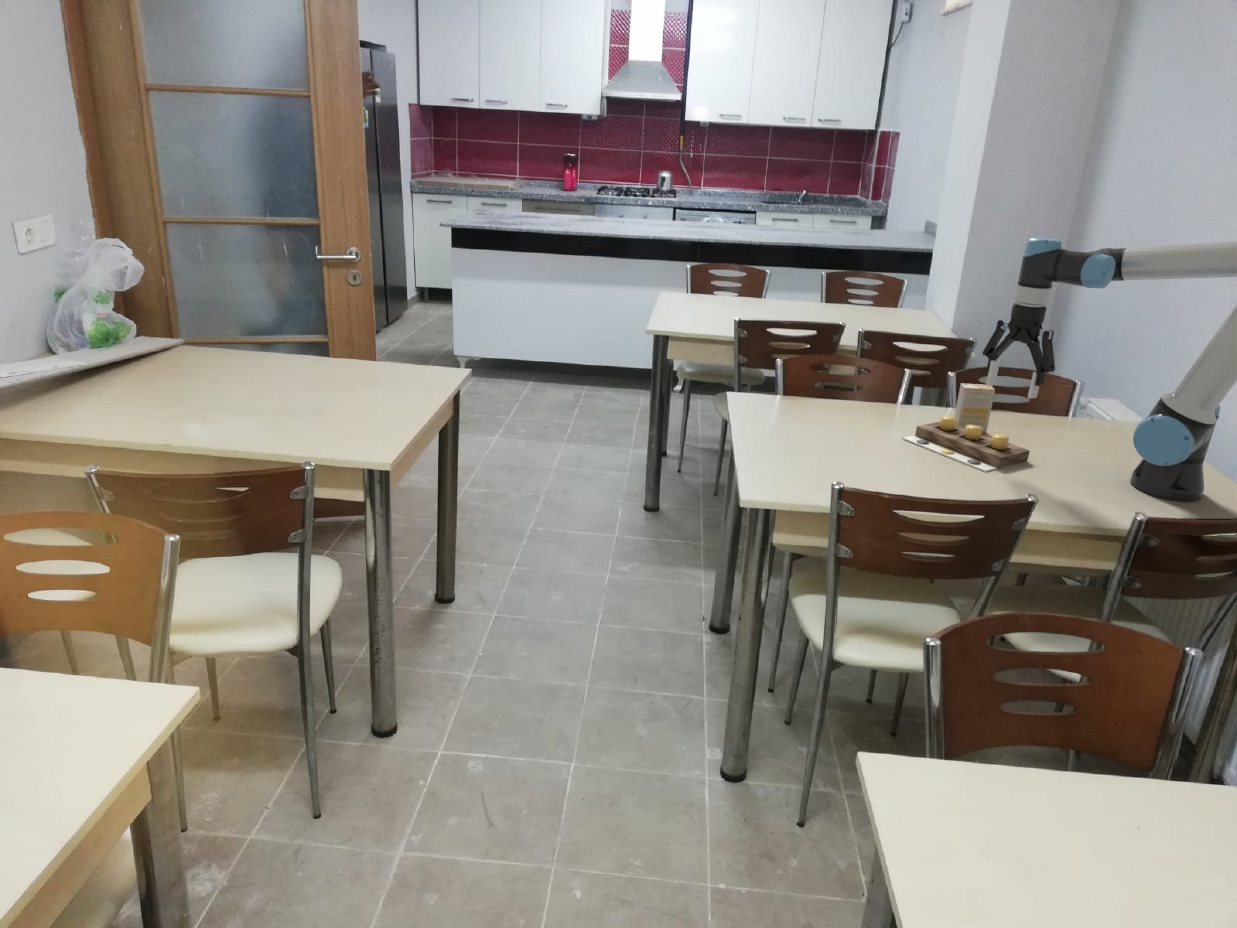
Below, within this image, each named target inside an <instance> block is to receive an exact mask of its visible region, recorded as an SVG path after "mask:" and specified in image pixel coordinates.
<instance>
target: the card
mask: <svg viewBox="0 0 1237 928" xmlns="http://www.w3.org/2000/svg"><path fill="white" fill-rule="evenodd" d="M901 440H903V441H906V442H908V443H910V444H914V445H916V446H919V447H921V448H924V449H926V450H929V451H931V452H934V453H936V454H938V455H941V456H944V457H946V458H949V459H951V460H954V461H956V462H958V463H961V464H963V465H966V466H968V467H972V468H974V469H976V470H979V471H981V472H984V473H987V472H990V471H995V470H997V468H996V467H993V466H991V465H988V464H986V463H983V462H980V461H978V460H975V459H973V458H970V457H967V456H965V455H962V454H960V453H957V452H955V451H952V450H949V449H947V448H944V447H942V446H939V445H936V444H934V443H931V442H929V441H926V440H924V439H921V438H918V437H916V436H915V435H909V436H905V437H902V439H901Z"/></svg>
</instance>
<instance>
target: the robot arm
mask: <svg viewBox="0 0 1237 928" xmlns="http://www.w3.org/2000/svg"><path fill="white" fill-rule="evenodd" d="M1062 243H1063V242H1062V240H1060V239H1057V238H1051V237H1039V236H1038V237H1035V236H1034V237H1031V238H1029V239H1028V240H1027V242H1026V245H1025V248H1024V252H1023V255H1022V261H1021V266H1020V270H1019V277H1018V281H1017V285H1016V289H1015V294H1014V298H1013V300H1014V301H1015V302H1013V304H1012V308H1011V313H1010V320H1008V319H1001V320H1000V319H999V320H997V323H996V328H995V330H994V331H993V333H992V335H991V337H990V338H989V340H988V342H987V343H986V346H985V347H984V349H983V350H982V356H985V357H987V360H988V361H987V365H986V372H988V373H987V378H986V383H985V385H987V386H992V387H993V386H996V382H997V377H998V373H999V368H1000V363H1001V359H999V358H1000V356H1002V354H1003V353H1004V352H1005V351H1006V350H1007V349H1008V348H1009V347H1010V346H1011V345H1012V344H1013V343H1014V342H1020V343H1022V344H1026V347H1028V349H1029V352H1030V355H1031V358H1032V361H1033V363H1034V367H1035V369H1036V371H1034V372H1032V376H1031V381H1030V385H1029V389H1028V393H1027V399H1029V400H1030V399H1037V398H1038V393H1039V390H1040V387H1041V386H1043V384H1044V382H1045V377H1046V374H1047V373H1051V372H1055V370H1056V366H1055V365H1056V364H1055V354H1054V346H1053V339H1054V334H1055V332H1054V330H1052V329H1051V330H1048V329H1047V330H1046V329H1043V323H1044V321H1045V318H1046V313H1047V309H1048V308H1047V307H1046V305H1048V303H1049V299H1050V296H1051V295H1050V294H1051V290H1052V287H1053V283H1057V284H1058V283H1061V284H1066V285H1073V286H1078V287H1083V288H1087V289H1100V290H1101V289H1105V288H1107V287H1108V286H1109V284H1110V283H1112V282H1122V281H1144V280H1146V281H1147V280H1149V281H1150V280H1177V279H1178V280H1180V279H1181V280H1183V279H1187V280H1188V279H1210V278H1211V279H1213V278H1214V279H1215V278H1217V279H1218V278H1237V241H1227V242H1226V241H1225V242H1224V241H1223V242H1205V243H1190V244H1174V245H1156V246H1153V245H1152V246H1140V247H1139V246H1138V247H1127V248H1126V247H1123V248H1122V247H1121V248H1113V247H1107V248H1101V249H1098V250H1097V249H1096V250H1091V251H1076V250H1068V249H1064V248H1062ZM1006 330H1008V331H1009V333H1008V334H1006V336H1005V337H1004V338H1003V340H1002V341H1001V339H1002V337H1003V335H1004V334H1005V332H1006ZM1039 336H1040V338H1041V342H1040V340H1039ZM1210 339H1211V340H1209V342H1208V343H1207V344H1206V346H1205V347H1204V349H1203V350H1202V352H1201V353H1200V354H1199V357H1198V358H1197V359H1196V361H1195V362H1194V363H1193V365H1192V366H1191V367H1190V369H1189V371H1187V373H1186V374H1185V376H1184V377H1183V379H1182V380H1181V381H1180V383H1179V384H1178V386H1177V387H1176V388H1175V390H1174V391H1171V392H1168V393H1163V394H1162V395H1161V397H1160V398H1159V399H1158V401H1157V402H1156V404H1155V405H1154V406H1153V408H1152V409H1151V411H1150V412H1149V414H1148V415H1147V416H1146V418H1144V419H1142V420H1141V421H1140V422H1138V424H1137V426H1136V427H1135V429H1134V431H1133V436H1132V442H1133V447H1134V448H1135V451H1136V452H1137V454H1138V456H1140V457H1141V458H1142V459H1141V460H1140V462H1139V463H1138V465H1136V467H1135V469H1134V470H1133V471H1132V473H1131V477H1130V480H1129V483H1130V485H1131V486H1132V487H1133V488H1135V489H1137V490H1139V491H1140V492H1143V493H1147V494H1148V495H1151V496H1155V497H1158V498H1162V499H1167V500H1172V501H1178V502H1179V501H1180V502H1193V501H1194V502H1195V501H1198V500H1200V499H1202V497H1203V495H1204V491H1205V480H1204V479H1205V477H1204V468H1203V467H1204V462H1205V459H1206V456H1207V453H1208V450H1209V447H1210V443H1211V441H1212V436H1213V434H1214V431H1215V428H1216V425H1217V421H1218V420H1219V418H1220V411H1221V407H1220V405H1221V402H1222V401H1223V400H1224V399H1225V397H1226V396H1227V394H1228V393H1229V392H1230V391H1231V389H1232V388H1233V386H1235V384H1236V382H1237V303H1236V304H1235V305H1234V307H1233V308H1232V309H1231V311H1230V312H1229V313H1228V315H1227V317H1226V318H1225V320H1224V321H1223V322H1222V323H1221V325H1220V327H1219V328H1218V329H1217V330H1216V332H1215V334H1213V336H1212V338H1210ZM1000 341H1001V342H1000ZM999 342H1000V343H999ZM1040 344H1041V346H1040Z"/></svg>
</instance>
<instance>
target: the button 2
mask: <svg viewBox="0 0 1237 928" xmlns="http://www.w3.org/2000/svg"><path fill="white" fill-rule="evenodd" d="M991 437H992V439H991V444H990V446H991V447H992V448H995V449H1000V450H1005V449H1007V445H1008V443H1009V441H1010V437H1009V436H1007V435H1005V434H1000V433H994V434H992V436H991Z"/></svg>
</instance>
